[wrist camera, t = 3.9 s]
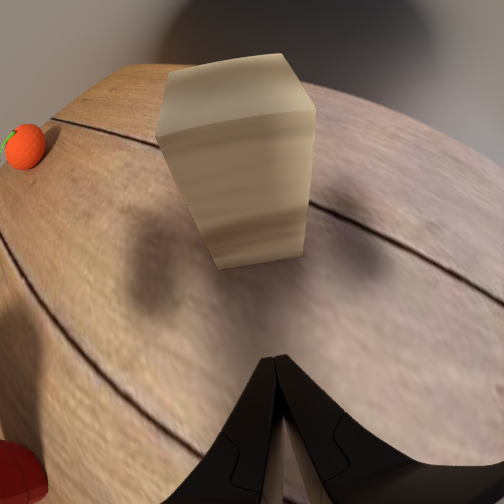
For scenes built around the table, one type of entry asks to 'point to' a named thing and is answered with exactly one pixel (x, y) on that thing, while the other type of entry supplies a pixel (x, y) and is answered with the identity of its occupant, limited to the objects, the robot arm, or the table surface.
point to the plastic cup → (20, 475)
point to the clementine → (25, 146)
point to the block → (241, 155)
